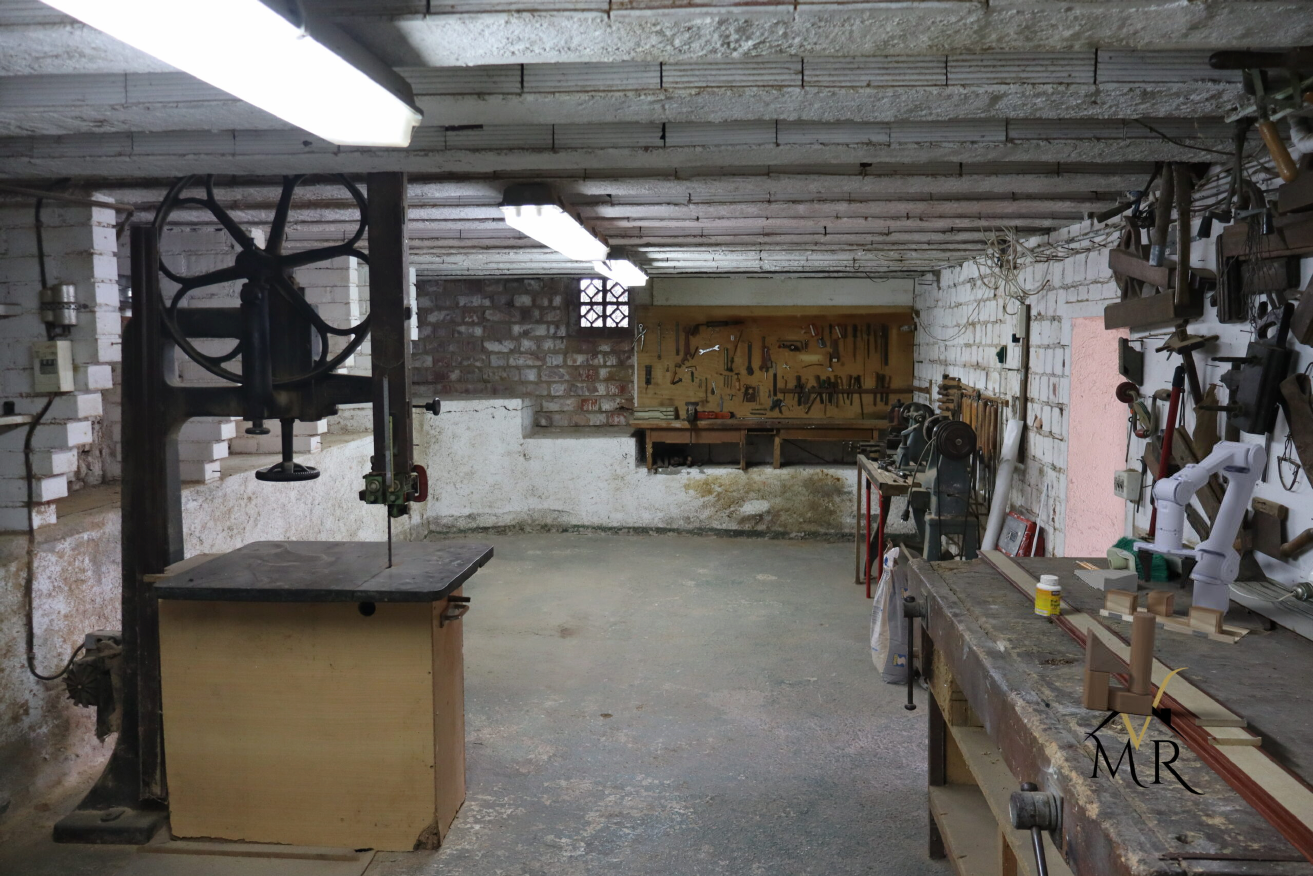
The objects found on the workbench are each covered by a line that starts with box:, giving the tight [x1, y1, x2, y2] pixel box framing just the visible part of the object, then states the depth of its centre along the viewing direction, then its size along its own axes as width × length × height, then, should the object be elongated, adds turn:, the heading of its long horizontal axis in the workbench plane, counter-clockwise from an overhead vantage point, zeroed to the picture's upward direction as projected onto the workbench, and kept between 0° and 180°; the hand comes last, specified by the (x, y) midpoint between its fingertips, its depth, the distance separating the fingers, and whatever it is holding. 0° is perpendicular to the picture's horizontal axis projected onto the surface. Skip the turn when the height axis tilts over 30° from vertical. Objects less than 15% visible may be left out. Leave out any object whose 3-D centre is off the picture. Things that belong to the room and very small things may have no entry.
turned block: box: [1146, 589, 1175, 617], centre depth 217 cm, size 4×6×6 cm
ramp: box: [1073, 568, 1139, 592], centre depth 251 cm, size 28×16×5 cm, turn 155°
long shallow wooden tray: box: [1099, 606, 1251, 645], centre depth 212 cm, size 15×28×2 cm, turn 44°
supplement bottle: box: [1034, 574, 1062, 618], centre depth 216 cm, size 6×6×10 cm
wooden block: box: [1081, 611, 1157, 716], centre depth 160 cm, size 4×11×18 cm, turn 76°
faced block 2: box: [1187, 605, 1225, 634], centre depth 204 cm, size 4×6×6 cm
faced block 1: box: [1104, 589, 1139, 616], centre depth 216 cm, size 4×6×6 cm
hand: (1165, 585), depth 214 cm, fingers open, 7 cm apart
